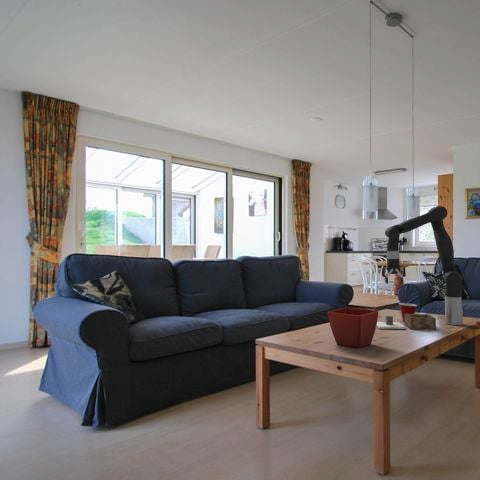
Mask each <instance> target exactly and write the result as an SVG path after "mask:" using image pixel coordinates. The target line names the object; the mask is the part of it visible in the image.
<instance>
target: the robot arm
mask: <svg viewBox="0 0 480 480" xmlns="http://www.w3.org/2000/svg"><path fill="white" fill-rule="evenodd" d="M448 213H449V210H448V209H447V208H446V207H445V206H442V205H436V206H434V207H431V208H430V209H429V210H428V212H426V213H423V214H422V215H418V216H414V217H411V218H410V219H407V220H404V221H402V222H400V223H397V224H394V225H392V226H389V227H388V228H387V227H386V229H385V231H384V235H385V236H386V237H387V238H388V241H387V243H386V267H382V268H381V277H382V278H384V282H385V283H386V285H388V284H389V278H388V277H390V275H398V276H399V283H400V284H402V285H403V283H404V277H406V276H407V274H406V273H407V272H406V267H405V266H402V267H401V265H400V264H401V263H400V259H401V258H400V257H401V256H400V251H399V250H400V248H399V243H400V237H401V236H400V235H401V234H406V233H408V232H411V231H413V230H416V229H417V228H420V227H422V226H425V225H427V224H430V225H431V228H432V232H433V236H434V237H433V238H434V241H435V246H436V249H437V253H438V257H439V260H440V263H441V268H442V275H443V276H442V277H443V281H444V283H445V291H444V315H445V317H444V318H445V319H444V323H445V325H449V324H450V326H464V312H463V311H464V310H463V308H462V294H463V276H462V275H461V273H459V272H458V271H457V269H456V264H455V258H454V257H455V251H454V245H453V240H452V238H451V236H450V235H449V233H448V232H447V230H446V227H445V224H444V219H446V217H447V216H448ZM400 270H401V272H402V273H401V272H400ZM386 271H387V272H386ZM385 273H386V274H385Z"/></svg>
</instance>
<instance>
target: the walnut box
mask: <svg viewBox="0 0 480 480" xmlns="http://www.w3.org/2000/svg"><path fill="white" fill-rule="evenodd" d="M404 326H405V327H407V328H408V329H410V330H414V331H418V330H419V331H436V330H437V318H436V317H434V316H433V315H430V314H429V313H427V314H425V313H414V314H405V322H404Z"/></svg>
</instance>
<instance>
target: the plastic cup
mask: <svg viewBox="0 0 480 480" xmlns="http://www.w3.org/2000/svg"><path fill="white" fill-rule="evenodd" d="M398 304H399V308H400V312H401V318H402V322H403V323H405V314H416V313H415V311H416V308H417V306H418V305H417V304H415V303H414V304H413V303H407V302H398Z"/></svg>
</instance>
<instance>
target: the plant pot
mask: <svg viewBox="0 0 480 480" xmlns="http://www.w3.org/2000/svg"><path fill="white" fill-rule="evenodd" d="M327 317H328V322H329V325H330V329H331V332H332V336H333V338H334V341H335V343H336V344H337V345H340V346H344V347H345V346H346V347H350V348H357V349H359V348H363V347H366V346H368V345H371V344H372V341H373V340H374V339H373V338H374V335H375V333H376V328H377V326H376V325H377V322H378V319H379V310H375V309H365V308H355V307H354V308H353V307H343V308H338V309H333V310H329V311H327Z"/></svg>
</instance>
